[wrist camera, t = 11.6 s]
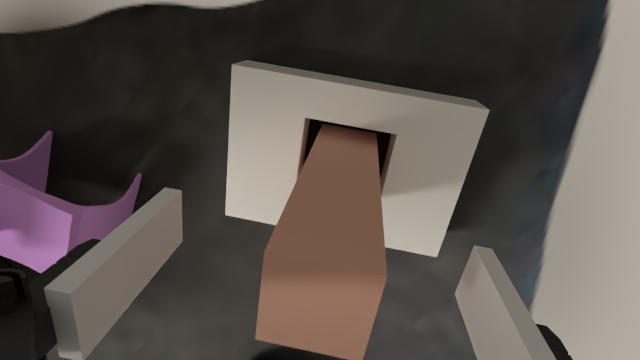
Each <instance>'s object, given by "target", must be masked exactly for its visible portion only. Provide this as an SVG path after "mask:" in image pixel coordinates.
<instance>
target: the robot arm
mask: <svg viewBox="0 0 640 360" xmlns="http://www.w3.org/2000/svg"><path fill="white" fill-rule="evenodd" d="M182 241H183V239H182V190H177V189H172V188H166V187H165V188H164V189H163V190H161V191H160V192H159V193H158V194H157V195H155V196H154V197H153V198H152V199H151V200H149V201H148V202H147V203H146V204H145V205H143V206H142V207H141V208H140V209H139V210H137V211H136V212H135V213H134V214H133V215H131V216H130V217H129V218H128V219H127V220H125V221H124V222H123V223H122V224H121V225H119V226H118V227H117V228H116V229H115V230H113V231H112V232H111V233H110V234H108V235H107V236H106V237H105V238H104V239H102V240H99V239H90V240H88V241H86V242H84V243H81V244H79V245H77V246H76V247H74V248H73V249H72V250H71V251H69V252H68V253H67V254H66V255H65V256H63V257H62V258H60V259H59V260H58V261H56V264H53V265H51V266H50V267H49V268H47V269H46V270H45V271H44V272H42V273H41V274H40V275H38V276H37V277H36V278H35V279H33V280H32V281H31V282H29V283H28V280H27V276H26V274H25V272H23V271H22V270H20V269H13V268H10V267H9V266H8V265H7V264H6V263H5V261H4V260H3V259H2V258H1V257H0V360H47V356H46V354H47V353H48V352H49V351H50V350H51V349H52V348H53V347H54V346H55V344H57V348H58V353H59V357H63V358H68V359H73V360H85V359H86V358H87V356H88V355H89V354H90V353H91V352H92V350H93V349H94V348H95V347H96V345H97V344H98V343H99V342H100V341H101V339H102V338H103V337H104V336H105V335H106V333H107V332H108V331H109V330H110V329H111V327H112V326H113V325H114V324H115V322H116V321H117V320H118V319H119V318H120V316H121V315H122V314H123V313H124V312H125V310H126V309H127V308H128V307H129V305H130V304H131V303H132V302H133V301H134V299H135V298H136V297H137V296H138V295H139V293H140V292H141V291H142V290H143V289H144V287H145V286H146V285H147V284H148V282H149V281H150V280H151V279H152V278H153V276H154V275H155V274H156V273H157V272H158V270H159V269H160V268H161V267H162V265H163V264H164V263H165V262H166V261H167V259H168V258H169V257H170V256H171V255H172V253H173V252H174V251H175V250H176V248H177V247H178V246H179V245H180V244H181V242H182ZM455 296H456V299H457V302H458V305H459V308H460V311H461V314H462V317H463V319H464V322H465V325H466V328H467V331H468V334H469V337H470V340H471V343H472V346H473V348H474V351H475V354H476V357H477V360H573V359H572V358H571V356H570V355H568V352H567V350H566V348H565V347H564V345H563V343H562V342H561V340H560V339H559V338H558V337H557V336H556V335H555V334H554V333H553V332H552V331H551V330H550V329H549V328H548V327H547V326H544V325H539V324H535V322H534V321H533V319H532V317H531V315H530V314H529V312H528V310H527V308H526V307H525V305H524V303H523V301H522V300H521V298H520V296H519V295H518V293H517V291H516V289H515V288H514V286H513V284H512V283H511V281H510V279H509V277H508V276H507V274H506V272H505V270H504V269H503V267H502V265H501V264H500V262H499V260H498V258H497V257H496V255H495V253H494V252H493V250H492V249H490V248H485V247H480V246H474V247H473V250H472V252H471V255H470V257H469V260H468V262H467V265H466V267H465V270H464V272H463V275H462V277H461V279H460V282H459V284H458V287H457V289H456V292H455Z"/></svg>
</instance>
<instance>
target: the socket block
mask: <svg viewBox="0 0 640 360" xmlns="http://www.w3.org/2000/svg"><path fill="white" fill-rule="evenodd" d="M489 111H490V110H489V109H488V108H486V107H485V106H483V105H482V104H481V103H479V102H478V101H476V100H472V99H466V98H460V97H455V96H449V95H443V94H438V93H432V92H426V91H421V90H415V89H409V88H404V87H398V86H392V85H387V84H381V83H375V82H370V81H364V80H358V79H352V78H347V77H341V76H335V75H330V74H324V73H318V72H313V71H307V70H301V69H296V68H290V67H284V66H279V65H273V64H267V63H262V62H256V61H250V60H245V61H242V62H238V63H235V64H232V71H231V94H230V117H229V140H228V163H227V186H226V209H225V215H228V216H233V217H238V218H243V219H248V220H253V221H258V222H263V223H268V224H273V225H277V223H278V220H279V218H280V216H281V214H282V212H283V210H284V207H285V205H286V203H287V201H288V199H289V196H290V194H291V192H292V190H293V188H294V185H295V183H296V181H297V179H298V177H299V175H300V172H301V170H302V168H303V165H304V158H305V151H306V144H307V137H308V130H309V123H310V119H315V120H321V121H326V122H332V123H337V124H342V125H348V126H353V127H359V128H364V129H370V130H375V131H381V132H386V133H391V137H390V141H389V145H388V149H387V153H386V157H385V161H384V165H383V169H382V173H381V177H380V187H381V201H382V214H383V228H384V241H385V247H388V248H393V249H398V250H403V251H408V252H413V253H418V254H423V255H428V256H433V257H437V255H438V253H439V250H440V247H441V244H442V241H443V239H444V236H445V233H446V230H447V228H448V225H449V222H450V219H451V216H452V214H453V211H454V208H455V205H456V202H457V200H458V197H459V194H460V191H461V189H462V186H463V183H464V180H465V177H466V175H467V172H468V169H469V166H470V164H471V161H472V158H473V155H474V152H475V150H476V147H477V144H478V141H479V139H480V136H481V133H482V130H483V127H484V125H485V122H486V119H487V116H488V114H489Z"/></svg>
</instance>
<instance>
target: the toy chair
mask: <svg viewBox="0 0 640 360" xmlns="http://www.w3.org/2000/svg"><path fill="white" fill-rule="evenodd" d="M52 135H53V132H51V131H49V130H48V131H47V132H46V133H45V134H44V136H43V137H42V138H41V139H40V140H39V141H38V142H37V143H36V144H35V145H34V146H33V147H32V148H31V149H30V150H29V151H27V152H26V153H24V154H23V155H21V156H19V157H17V158H13V159H9V160H2V161H0V255H1V256H3V257H6V258H9V259H12V260H14V261H16V262H19V263H21V264H23V265H25V266H28V267H30V268H32V269H33V270H35V271H37V272H39V273H42V272H44V271H45V270H46V269H47V268H49V267H50V266H51V265H53V264H56V261H58V260H59V259H60V258H62V257H63V256H65V255H66V254H67V253H68V252H69V251H71V250H72V249H73V248H74V247H76V246H77V245H79V244H81V243H84V242H86V241H88V240H90V239H99V240H102V239H104V238H105V237H106V236H107V235H108V234H110V233H111V232H112V231H113V230H115V229H116V228H117V227H118V226H119V225H121V224H122V223H123V222H124V221H125V220H127V219H128V218H129V217H130V216H131V215H132V212H133V208H134V204H135V200H136V197H137V193H138V189H139V185H140V181H141V178H142V174H141V173H138V174H137V176H136V177H135V179H134V181H133V183H132V184H131V186H130V188H129V189H128V190H127V192H126V193H125V194H124V196H123V197H122V198H121V199H120V200H118V201H117V202H115V203H112V204H109V205H97V206H80V205H75V204H72V203H69V202H67V201H65V200H62V199H59V198H57V197H54V196H51V195H49V194H46V193H44V192H45V190H46V182H47V175H48V167H49V159H50V151H51V143H52Z"/></svg>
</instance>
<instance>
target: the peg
mask: <svg viewBox="0 0 640 360" xmlns="http://www.w3.org/2000/svg"><path fill="white" fill-rule="evenodd" d="M386 279H387V268H386V255H385V241H384V228H383V214H382V201H381V187H380V174H379V160H378V147H377V134H376V133H371V132H365V131H360V130H354V129H349V128H343V127H338V126H333V125H327V124H322V126H321V129H320V131H319V133H318V135H317V137H316V139H315V142H314V144H313V146H312V148H311V150H310V153H309V155H308V157H307V159H306V161H305V164H304V166H303V168H302V170H301V172H300V175H299V177H298V179H297V181H296V183H295V185H294V188H293V190H292V192H291V194H290V196H289V199H288V201H287V203H286V205H285V207H284V210H283V212H282V214H281V216H280V218H279V220H278V223H277V225H276V227H275V229H274V231H273V234H272V236H271V238H270V240H269V242H268V245H267V247H266V249H265V251H264V259H263V269H262V278H261V288H260V298H259V307H258V317H257V327H256V336H255V339H256V340H261V341H265V342H270V343H275V344H279V345H284V346H288V347H293V348H298V349H302V350H307V351H311V352H316V353H320V354H325V355H330V356H334V357H339V358H343V359H348V360H363V357H364V354H365V350H366V347H367V343H368V340H369V337H370V333H371V330H372V326H373V323H374V320H375V316H376V313H377V310H378V306H379V303H380V299H381V296H382V293H383V289H384V286H385V282H386Z"/></svg>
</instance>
